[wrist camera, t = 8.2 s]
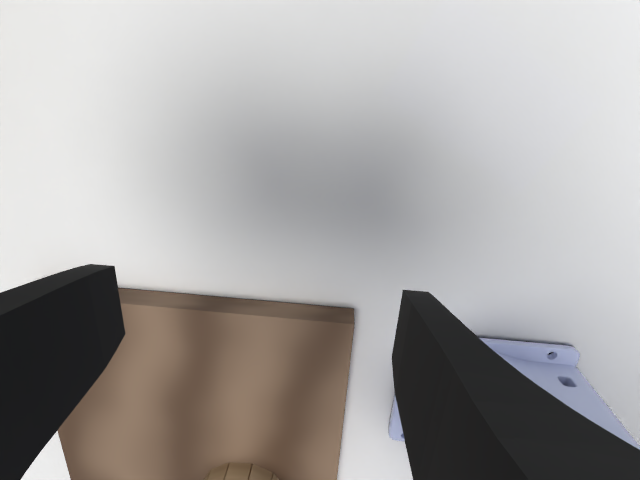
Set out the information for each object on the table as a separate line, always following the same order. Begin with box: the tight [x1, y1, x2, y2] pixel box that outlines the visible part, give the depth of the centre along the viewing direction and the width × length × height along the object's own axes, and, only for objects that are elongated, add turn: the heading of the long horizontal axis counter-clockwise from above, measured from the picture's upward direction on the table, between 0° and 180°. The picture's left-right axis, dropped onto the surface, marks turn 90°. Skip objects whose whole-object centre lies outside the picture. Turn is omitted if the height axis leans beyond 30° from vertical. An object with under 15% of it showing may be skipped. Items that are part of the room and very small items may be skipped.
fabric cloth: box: [58, 288, 354, 480], centre depth 25 cm, size 18×18×2 cm
